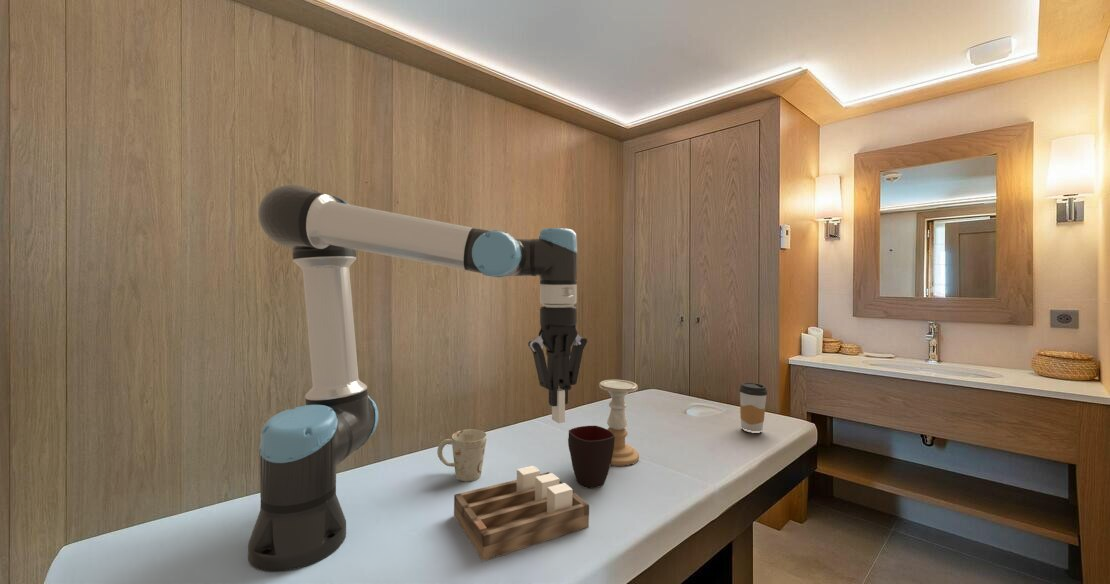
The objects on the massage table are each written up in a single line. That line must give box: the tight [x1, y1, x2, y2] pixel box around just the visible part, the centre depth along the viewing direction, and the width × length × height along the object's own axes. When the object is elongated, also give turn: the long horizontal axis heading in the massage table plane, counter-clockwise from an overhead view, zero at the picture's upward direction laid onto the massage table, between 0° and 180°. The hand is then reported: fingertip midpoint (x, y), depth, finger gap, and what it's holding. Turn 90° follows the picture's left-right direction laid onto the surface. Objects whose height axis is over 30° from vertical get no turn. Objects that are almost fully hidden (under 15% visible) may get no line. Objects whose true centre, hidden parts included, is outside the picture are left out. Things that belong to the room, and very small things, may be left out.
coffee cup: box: [739, 382, 768, 431], centre depth 144 cm, size 8×8×15 cm
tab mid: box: [535, 472, 560, 501], centre depth 91 cm, size 4×3×5 cm
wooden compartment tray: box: [453, 471, 590, 562], centre depth 88 cm, size 22×16×5 cm
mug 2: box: [567, 425, 615, 489], centre depth 106 cm, size 10×14×12 cm
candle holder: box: [598, 379, 640, 467], centre depth 120 cm, size 12×12×20 cm
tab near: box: [547, 482, 574, 513], centre depth 86 cm, size 4×3×5 cm
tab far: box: [516, 465, 541, 492], centre depth 94 cm, size 4×3×5 cm
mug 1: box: [437, 428, 487, 482], centre depth 107 cm, size 8×13×10 cm, turn 78°
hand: (558, 420), depth 90 cm, fingers closed
